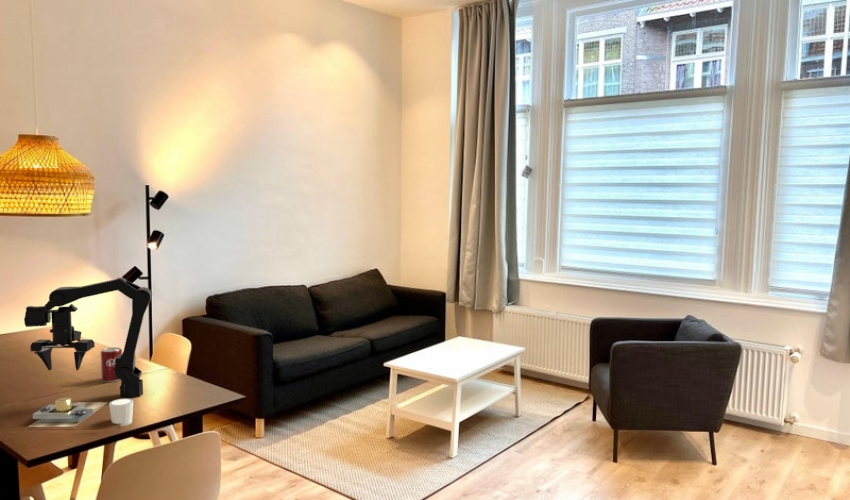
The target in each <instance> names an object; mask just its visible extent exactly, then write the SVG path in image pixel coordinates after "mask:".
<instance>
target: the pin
mask: <svg viewBox="0 0 850 500" xmlns="http://www.w3.org/2000/svg"><path fill="white" fill-rule="evenodd" d="M54 401H55V402H54V404H55V410H56V413H68V412H70V411H71V410H72V405H71V402H72V398H71V397H61V398H58V399H55V400H54Z"/></svg>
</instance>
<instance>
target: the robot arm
mask: <svg viewBox="0 0 850 500" xmlns="http://www.w3.org/2000/svg"><path fill="white" fill-rule="evenodd" d="M115 291H116V292H117V291H118V292H120V293H122V294H123V295H124V296H126V298H129V299H131V309H132V310H131V312H132V313H131V317H130V322H129V326H128V331H127V334H126V339H125V344H124V348H123V350H122V355H120V354H118V356H117V357H116V364H115V367H114V369H113V370H115V375H116V377H117V378H119V379H121V380H120V385H119V397H120V398H123V399H134V398H140V397H141V396H143V395H144V388H143V387H144V385H143V382H144V381H143V379H141V375H142V373H143V371H142V370H141V369H139V368H138V367H136V350H137V346H138V342H139V337H140V333H141V329H142V324H143V320H144V316H145V314H146V311H147V309H148V307H149V304H150V302H151V300H152V297H153V293H152V291H151V289H150V288H148V287H144V286H142V287H141V286H139V285H138V284H135V283H133V282H131V281H129V280H127V279H125V278H123V277H116V278H114V279H110V280H105V281H101V282H96V283H91V284H86V285H82V286H61V287H58V288H56V289H54V290H53V291H51V292H50V294H49V296H48V301H47V303H45V304H44V305H41V306H38V305H37V306H34V305H28V306H27V307H25V314H24V318H23V321H24V325H25V327H26V328H33V327H34V328H35V327H47V325H48V324H49V323H51V329H49V333H51V334H52V340H51V339H37V340H35V341H33V342H31V344H30V345H29V350H30V352H33V353H34V354H35V355H37V356H38V357H39V359H40V360H42V363H44V366H45V367H46V368H47V370H48V371H51V370H52V368H53V367H52V366H53V365H52V351H53V349H74V350H75V351H74V352H73V357H74V366H75V371H79V370H80V368H81V365H82V362H83V360H84V357H85V355H86V353H87V352H89V351H90V350H92V349H94V348H96V346H95V343H96V342H95V341H94V340H93V339H89V338H87V339H85V338H84V339H81V337H82V331H80V330H75V327H74V326H75V325H72V313H75V312H77V311H78V307H77V306H75V305H74V304H73V302H75V301H78V300H80V299H83V298H87V297H93V296H97V295H102V294H107V293H111V292H115ZM68 304H69V305H68ZM66 305H68V306H66ZM56 307H58V308H57V309H54V308H56Z"/></svg>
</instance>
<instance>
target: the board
mask: <svg viewBox="0 0 850 500" xmlns="http://www.w3.org/2000/svg"><path fill="white" fill-rule="evenodd" d="M71 404H85V409H93V413H92V414H91V415H90V416H92V415H93V414H94V413H95V412H97V411H99V410H100V409H102V408H103V407H104V406H105V405H107V404H109V401H108V402H107V401H105V402H104V401H103V402H102V401H96V402H95V401H93V402H91V401H90V402H89V401H88V402H87V401H86V402H83V401H82V402H81V401H78V402H76V401H75V402H72V401H71ZM90 416H88V417H87V418H89V417H90ZM87 418H85V419H84V420H86V419H87ZM84 420H83V421H84ZM83 421H81V422H80V423H82V422H83ZM80 423H49V424H41V419H37V420H36V421H35V422H32V424H30V425H28V426H27V428H30V429H27V431H45V430H46V431H51V430H52V431H58V430H61V431H62V430H63V431H64V430H66V431H67V430H68V431H69V430H76V429H75V428H74V427H77V426H78V425H79V424H80ZM47 427H48V428H47ZM49 427H51V428H49ZM53 427H54V429H53ZM57 427H58V428H59V427H61V428H60V429H58V428H57ZM63 427H64V428H63ZM65 427H67V429H66V428H65ZM68 427H73V428H68ZM32 428H33V429H32ZM34 428H37V429H34ZM39 428H40V429H39ZM42 428H43V429H42ZM44 428H45V429H44ZM46 428H47V429H46ZM55 428H57V429H55Z"/></svg>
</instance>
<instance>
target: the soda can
mask: <svg viewBox="0 0 850 500" xmlns="http://www.w3.org/2000/svg"><path fill="white" fill-rule="evenodd" d="M118 354H120V355H122V354H123V349H122V348H121V347H116V346H113V347H106V348H105V347H104V349H101V351H100V367H101V369H100V371H101V380H102V381H103V382H104V383H114V382H119V381H121V379H119V378H117V377H116V375H115V370H113V369H114V367H115V364H116V357H117V356H118Z"/></svg>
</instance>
